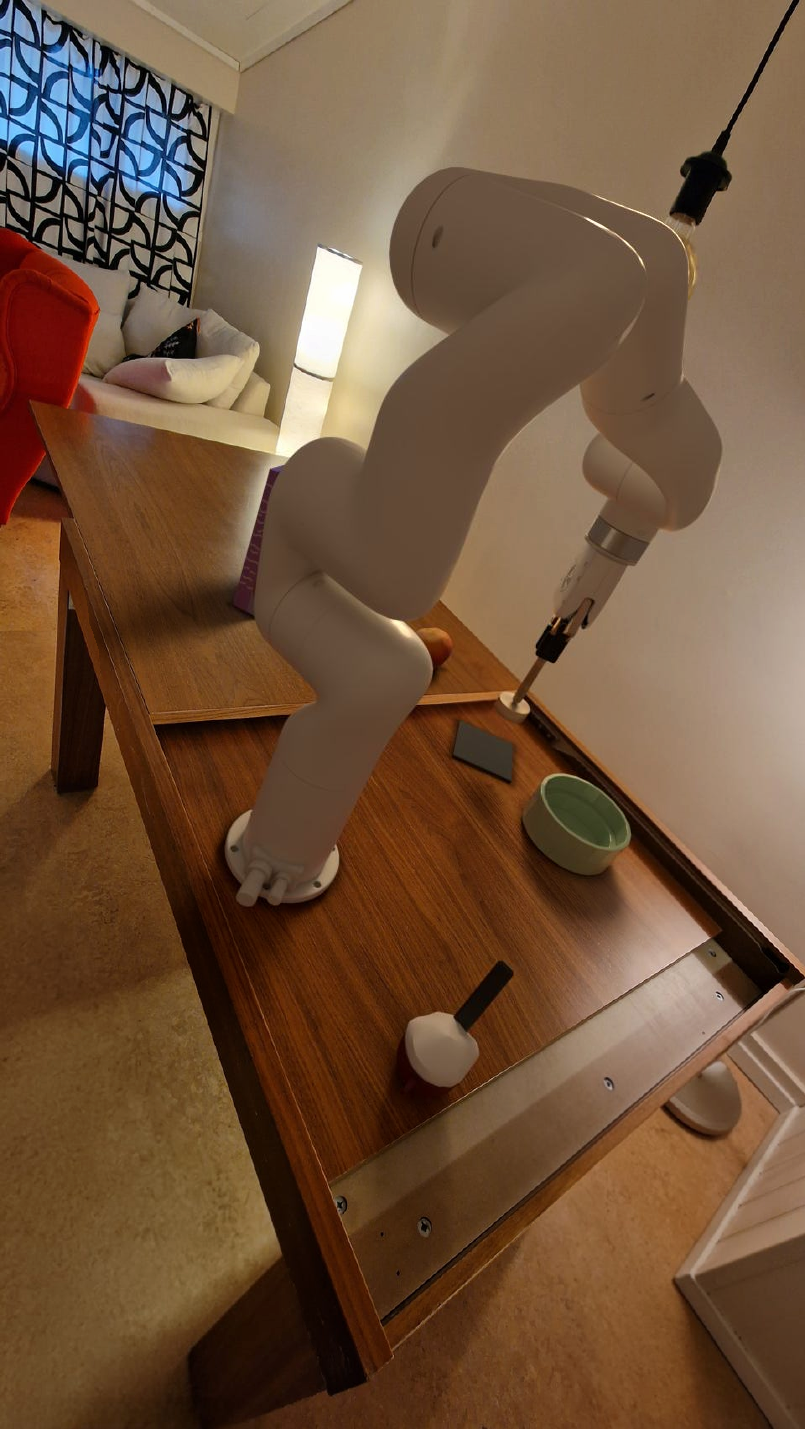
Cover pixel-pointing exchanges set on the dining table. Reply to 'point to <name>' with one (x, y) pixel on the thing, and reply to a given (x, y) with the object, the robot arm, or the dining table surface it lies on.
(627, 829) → the bowl
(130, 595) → the dining table surface
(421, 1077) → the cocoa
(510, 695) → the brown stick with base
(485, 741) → the mat
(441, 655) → the fruit
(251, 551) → the cereal box
